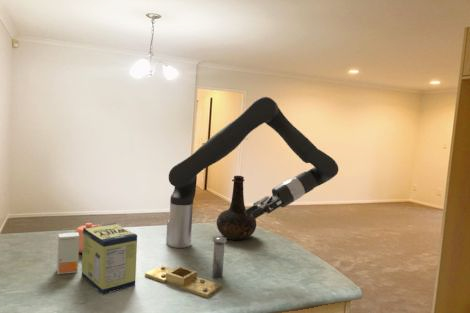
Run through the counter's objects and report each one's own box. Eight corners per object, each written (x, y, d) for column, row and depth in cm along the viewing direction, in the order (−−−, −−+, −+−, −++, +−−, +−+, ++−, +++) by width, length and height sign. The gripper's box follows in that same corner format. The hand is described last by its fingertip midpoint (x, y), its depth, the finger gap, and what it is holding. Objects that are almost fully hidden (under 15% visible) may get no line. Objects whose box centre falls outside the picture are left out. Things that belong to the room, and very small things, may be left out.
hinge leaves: (145, 276, 112) (145, 267, 112) (161, 268, 119) (162, 259, 118) (207, 298, 100) (207, 287, 100) (221, 287, 107) (222, 278, 107)
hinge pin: (207, 277, 114) (210, 238, 113) (215, 272, 118) (217, 235, 117) (219, 280, 112) (221, 241, 111) (226, 276, 116) (228, 237, 115)
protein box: (112, 268, 116) (114, 222, 115) (136, 285, 105) (138, 234, 104) (80, 276, 109) (82, 227, 108) (102, 295, 98) (104, 241, 97)
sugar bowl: (62, 252, 128) (62, 224, 127) (91, 241, 141) (92, 216, 140) (88, 258, 123) (89, 230, 122) (115, 247, 136) (116, 221, 135)
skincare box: (56, 275, 108) (58, 237, 107) (56, 269, 112) (57, 233, 111) (78, 272, 111) (79, 235, 110) (77, 267, 115) (78, 231, 114)
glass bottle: (258, 234, 165) (262, 175, 163) (251, 246, 148) (256, 180, 146) (221, 229, 169) (225, 172, 167) (210, 240, 152) (214, 176, 150)
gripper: (276, 182, 130) (239, 203, 126) (291, 182, 116) (249, 206, 112) (285, 200, 130) (248, 222, 126) (301, 202, 116) (260, 227, 113)
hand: (249, 214), depth 119 cm, fingers open, 8 cm apart
